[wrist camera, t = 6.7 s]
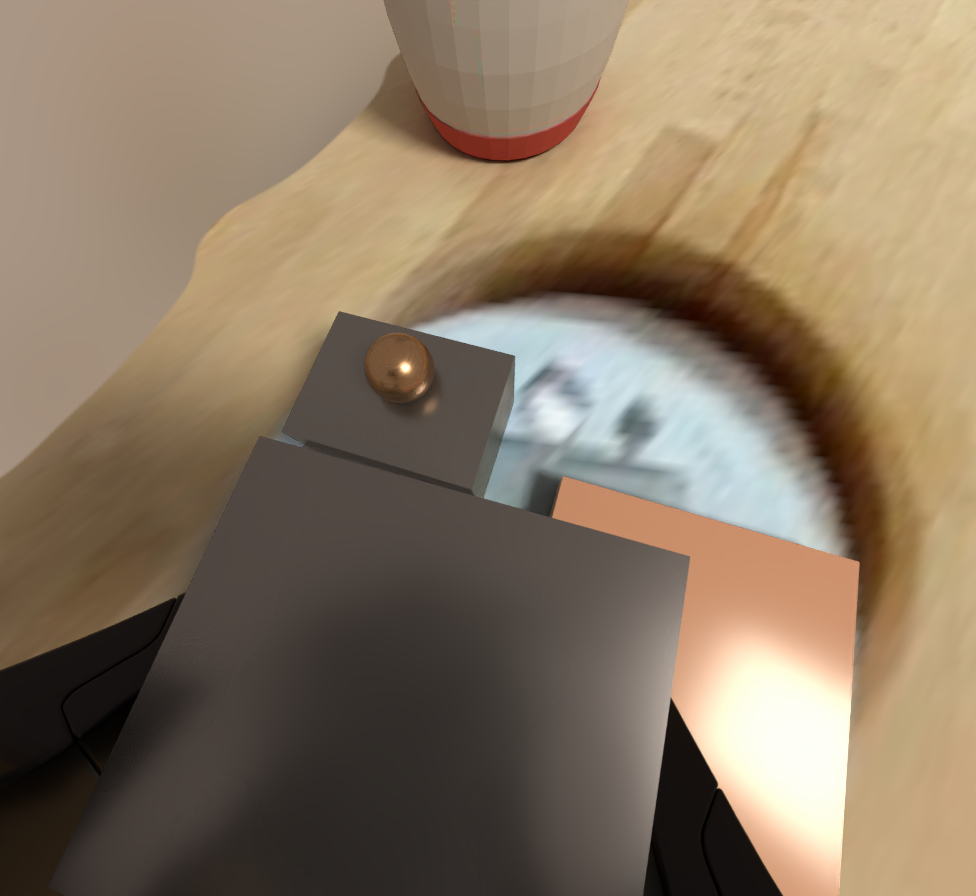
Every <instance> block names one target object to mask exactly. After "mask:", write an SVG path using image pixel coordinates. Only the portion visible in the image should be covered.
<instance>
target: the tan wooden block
mask: <svg viewBox="0 0 976 896" xmlns="http://www.w3.org/2000/svg"><path fill="white" fill-rule="evenodd" d="M689 563H690V556H687V555H684V554H680V553H676V552H673V551H669V550H666V549H662V548H659V547H655V546H651V545H648V544H644V543H641V542H637V541H633V540H630V539H626V538H623V537H619V536H616V535H612V534H608V533H605V532H601V531H598V530H594V529H591V528H587V527H583V526H580V525H576V524H573V523H569V522H566V521H562V520H558V519H555V518H551V517H548V516H544V515H540V514H537V513H533V512H530V511H526V510H523V509H519V508H515V507H512V506H508V505H505V504H501V503H498V502H494V501H490V500H487V499H483V498H480V497H476V496H472V495H469V494H465V493H462V492H458V491H455V490H451V489H447V488H444V487H440V486H437V485H433V484H430V483H426V482H422V481H419V480H415V479H412V478H408V477H405V476H401V475H397V474H394V473H390V472H387V471H383V470H379V469H376V468H372V467H369V466H365V465H362V464H358V463H354V462H351V461H347V460H344V459H340V458H337V457H333V456H329V455H326V454H322V453H319V452H315V451H311V450H308V449H304V448H301V447H297V446H294V445H290V444H286V443H283V442H279V441H276V440H272V439H269V438H265V437H261V436H260V437H259V439H258V441H257V443H256V445H255V447H254V450H253V452H252V454H251V456H250V458H249V460H248V462H247V464H246V467H245V469H244V471H243V473H242V475H241V477H240V479H239V481H238V484H237V486H236V488H235V490H234V492H233V494H232V496H231V498H230V501H229V503H228V505H227V507H226V509H225V511H224V513H223V515H222V518H221V520H220V522H219V524H218V526H217V528H216V530H215V532H214V535H213V537H212V539H211V541H210V543H209V545H208V547H207V549H206V552H205V554H204V556H203V558H202V560H201V562H200V564H199V566H198V569H197V571H196V573H195V575H194V577H193V579H192V581H191V584H190V586H189V588H188V590H187V592H186V594H185V596H184V598H183V601H182V603H181V605H180V607H179V609H178V611H177V613H176V615H175V618H174V620H173V622H172V624H171V626H170V628H169V630H168V632H167V635H166V637H165V639H164V641H163V643H162V645H161V647H160V649H159V652H158V654H157V656H156V658H155V660H154V662H153V664H152V666H151V669H150V671H149V673H148V675H147V677H146V679H145V681H144V683H143V686H142V688H141V690H140V692H139V694H138V696H137V698H136V701H135V703H134V705H133V707H132V709H131V711H130V713H129V715H128V718H127V720H126V722H125V724H124V726H123V728H122V730H121V732H120V735H119V737H118V739H117V741H116V743H115V745H114V747H113V749H112V752H111V754H110V756H109V758H108V760H107V762H106V764H105V766H104V769H103V771H102V773H101V775H100V777H99V779H98V781H97V783H96V786H95V788H94V790H93V792H92V794H91V796H90V798H89V800H88V803H87V805H86V807H85V809H84V811H83V813H82V815H81V817H80V820H79V822H78V824H77V826H76V828H75V830H74V832H73V835H72V837H71V839H70V841H69V843H68V845H67V847H66V849H65V852H64V854H63V856H62V858H61V860H60V862H59V864H58V866H57V869H56V871H55V873H54V875H53V877H52V879H51V881H50V883H49V886H48V888H50V889H52V890H54V891H56V892H58V893H60V894H62V895H64V896H643V891H644V884H645V877H646V869H647V862H648V855H649V848H650V841H651V834H652V827H653V820H654V813H655V805H656V798H657V791H658V784H659V777H660V770H661V763H662V756H663V748H664V741H665V734H666V727H667V720H668V713H669V706H670V699H671V691H672V684H673V677H674V670H675V663H676V656H677V649H678V642H679V635H680V627H681V620H682V613H683V606H684V599H685V592H686V585H687V578H688V570H689Z"/></svg>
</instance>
